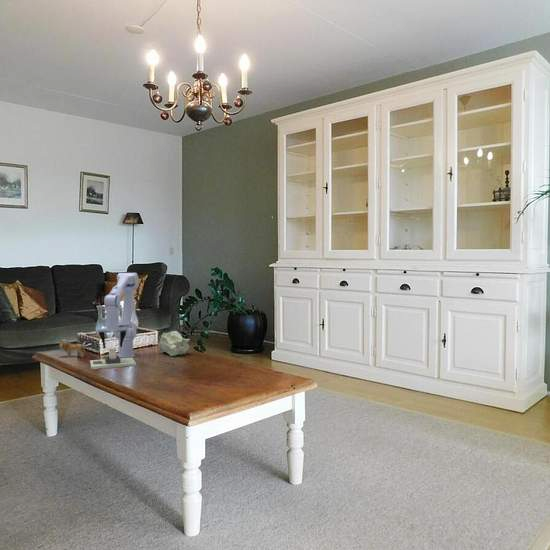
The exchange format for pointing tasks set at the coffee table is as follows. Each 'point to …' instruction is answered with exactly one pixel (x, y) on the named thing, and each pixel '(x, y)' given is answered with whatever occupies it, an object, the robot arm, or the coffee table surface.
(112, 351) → the plug
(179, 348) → the folded clay sculpture
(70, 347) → the lion figurine
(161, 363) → the coffee table surface
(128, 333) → the robot arm
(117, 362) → the board
